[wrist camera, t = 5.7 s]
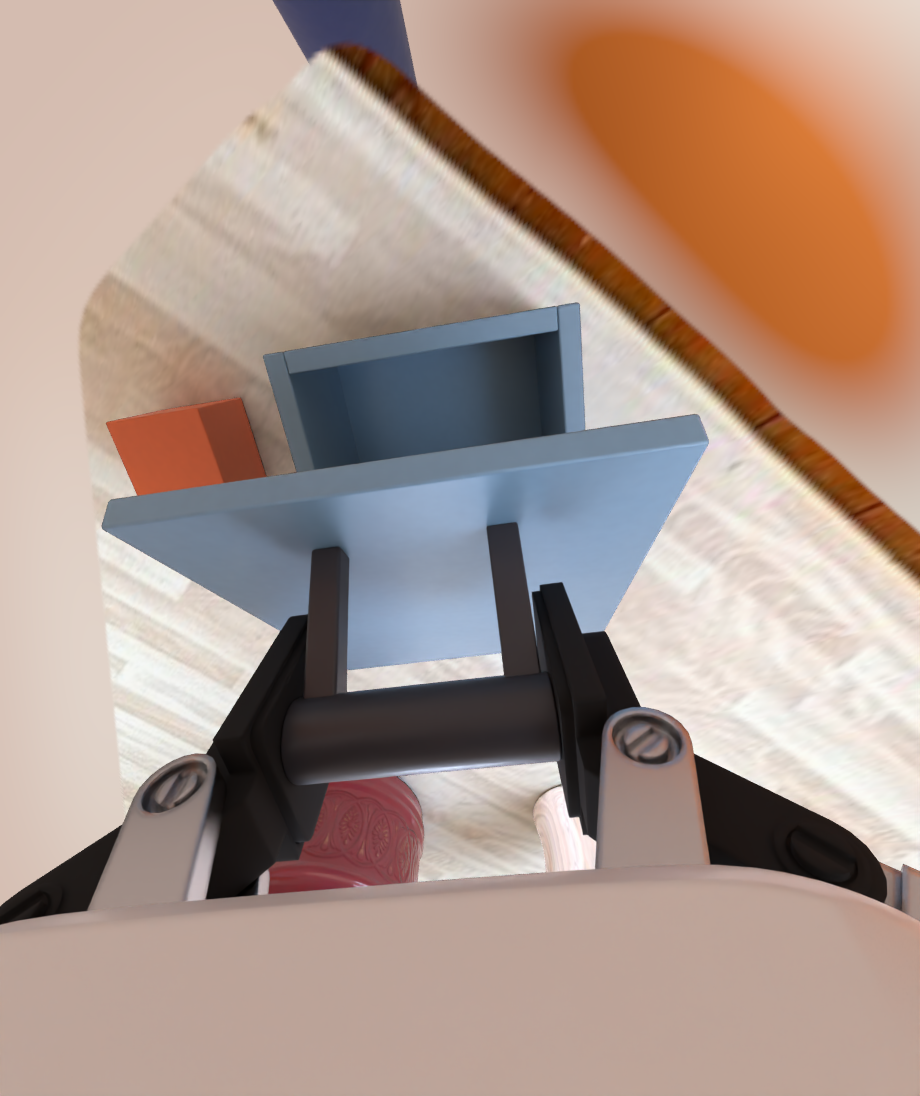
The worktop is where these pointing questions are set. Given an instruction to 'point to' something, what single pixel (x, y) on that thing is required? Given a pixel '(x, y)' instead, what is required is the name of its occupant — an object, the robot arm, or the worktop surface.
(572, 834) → the silver metal tumbler
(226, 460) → the orange cube
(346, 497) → the lid
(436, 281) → the worktop surface
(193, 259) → the worktop surface
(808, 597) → the worktop surface
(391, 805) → the kitchen canister
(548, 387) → the blue hinged box
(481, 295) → the worktop surface
